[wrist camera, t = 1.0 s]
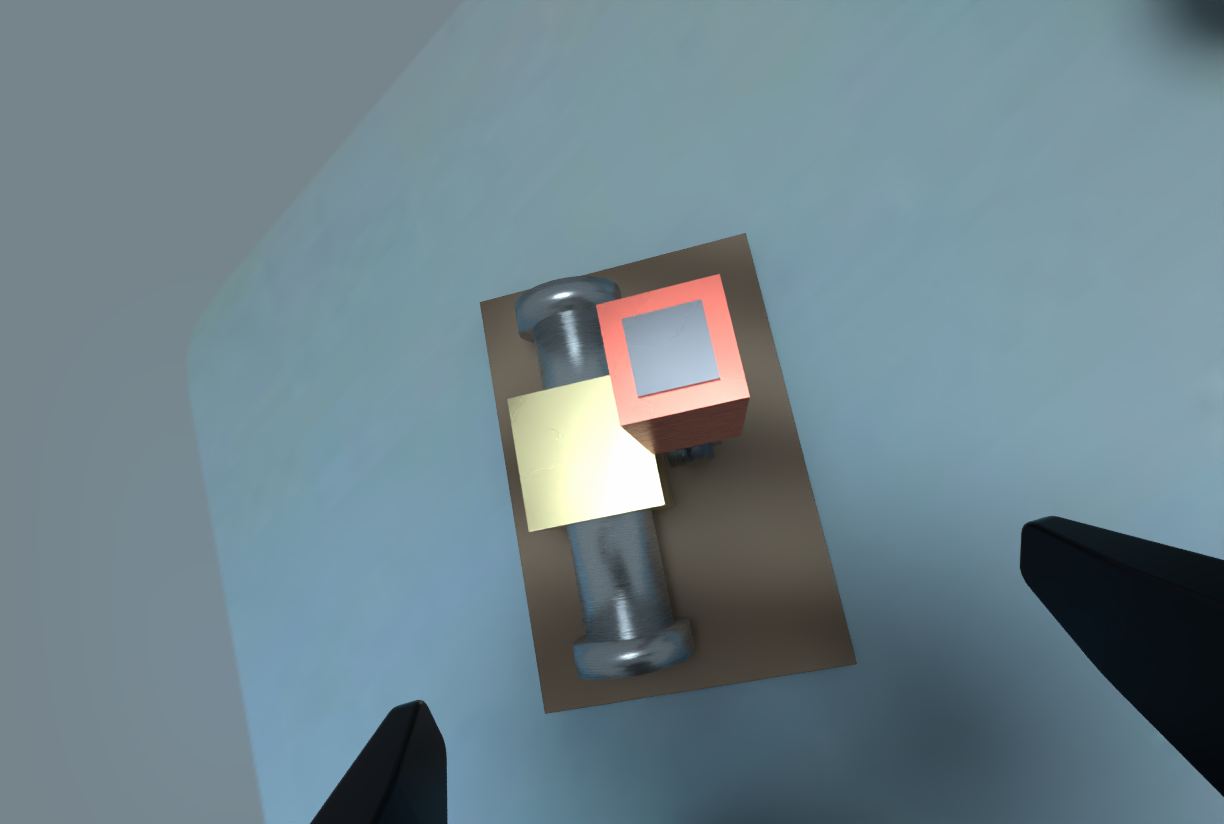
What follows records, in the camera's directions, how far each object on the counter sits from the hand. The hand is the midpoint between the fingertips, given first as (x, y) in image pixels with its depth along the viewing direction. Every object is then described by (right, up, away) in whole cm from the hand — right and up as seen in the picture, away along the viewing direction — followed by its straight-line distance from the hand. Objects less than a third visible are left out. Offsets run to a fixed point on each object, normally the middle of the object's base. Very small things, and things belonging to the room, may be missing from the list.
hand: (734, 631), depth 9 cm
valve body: (-2, +1, +15) cm, 15 cm away
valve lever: (+1, +2, +12) cm, 12 cm away
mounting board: (0, +1, +15) cm, 15 cm away
